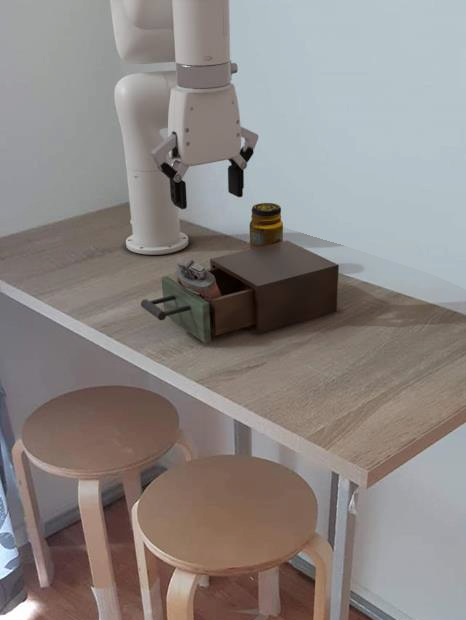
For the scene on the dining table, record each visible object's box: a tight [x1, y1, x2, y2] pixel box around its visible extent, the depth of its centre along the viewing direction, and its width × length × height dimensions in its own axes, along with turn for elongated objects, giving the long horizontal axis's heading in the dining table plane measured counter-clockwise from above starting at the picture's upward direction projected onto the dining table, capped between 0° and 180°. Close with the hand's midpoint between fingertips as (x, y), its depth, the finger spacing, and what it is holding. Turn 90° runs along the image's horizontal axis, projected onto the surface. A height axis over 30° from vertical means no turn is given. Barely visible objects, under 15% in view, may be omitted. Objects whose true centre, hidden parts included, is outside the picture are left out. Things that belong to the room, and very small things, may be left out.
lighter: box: [174, 257, 222, 319], centre depth 129 cm, size 8×3×10 cm, turn 43°
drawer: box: [140, 267, 256, 344], centre depth 131 cm, size 20×13×6 cm, turn 122°
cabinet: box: [209, 240, 340, 335], centre depth 137 cm, size 16×15×8 cm
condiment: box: [249, 202, 284, 250], centre depth 149 cm, size 7×8×12 cm
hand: (208, 200), depth 124 cm, fingers open, 9 cm apart
